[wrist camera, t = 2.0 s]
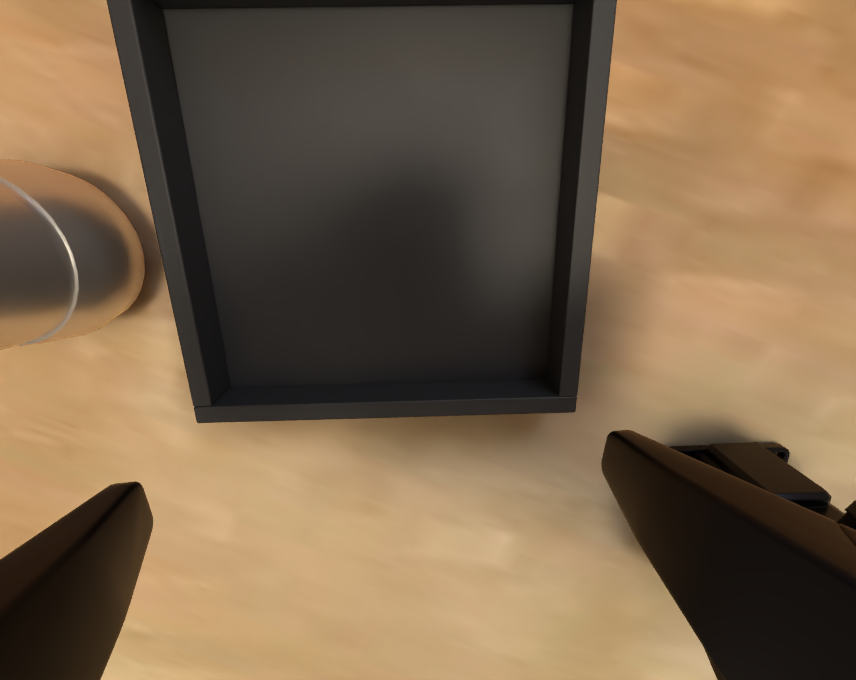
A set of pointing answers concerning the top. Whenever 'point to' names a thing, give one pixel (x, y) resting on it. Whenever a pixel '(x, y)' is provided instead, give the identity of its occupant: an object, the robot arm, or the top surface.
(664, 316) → the top surface
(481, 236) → the tray
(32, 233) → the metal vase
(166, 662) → the top surface
